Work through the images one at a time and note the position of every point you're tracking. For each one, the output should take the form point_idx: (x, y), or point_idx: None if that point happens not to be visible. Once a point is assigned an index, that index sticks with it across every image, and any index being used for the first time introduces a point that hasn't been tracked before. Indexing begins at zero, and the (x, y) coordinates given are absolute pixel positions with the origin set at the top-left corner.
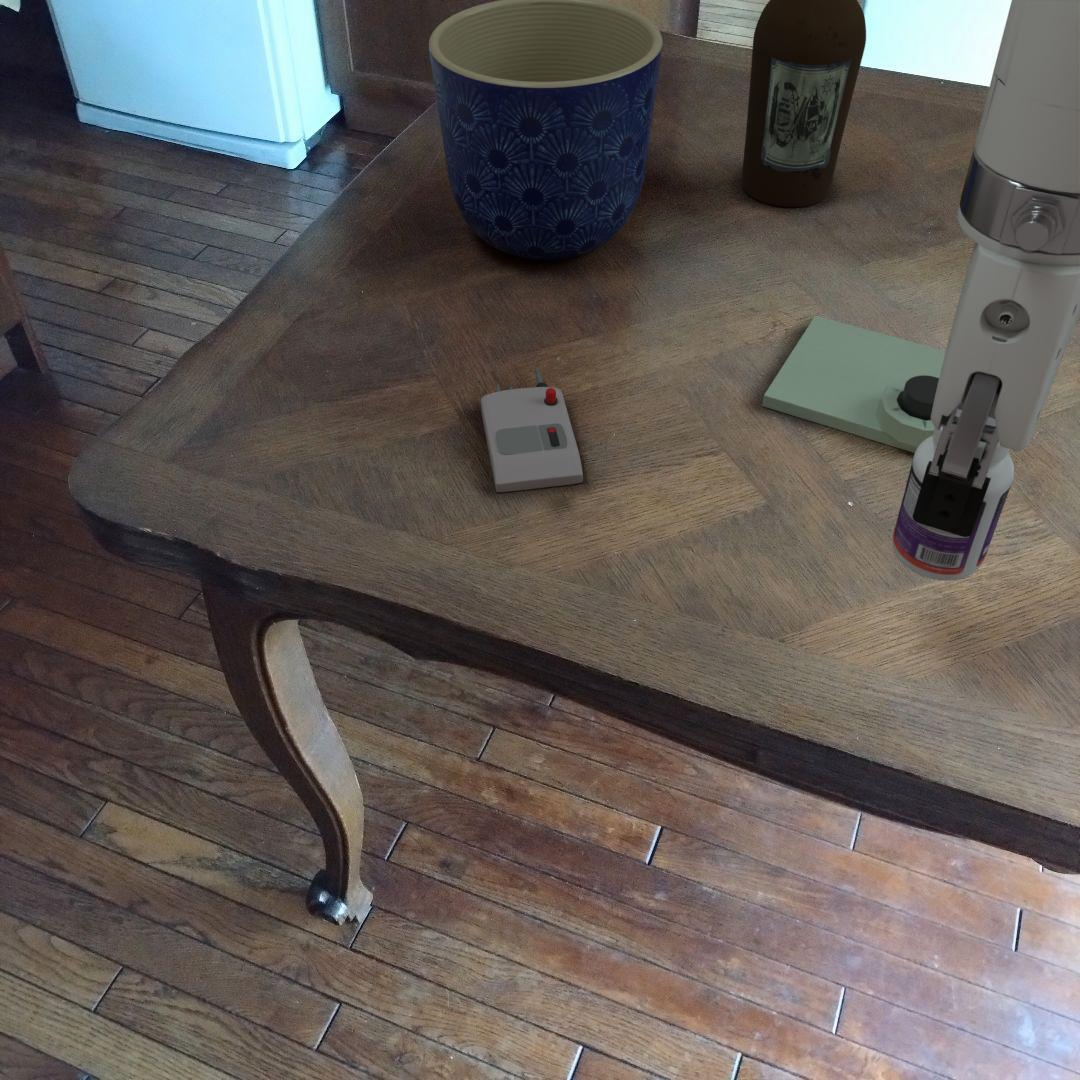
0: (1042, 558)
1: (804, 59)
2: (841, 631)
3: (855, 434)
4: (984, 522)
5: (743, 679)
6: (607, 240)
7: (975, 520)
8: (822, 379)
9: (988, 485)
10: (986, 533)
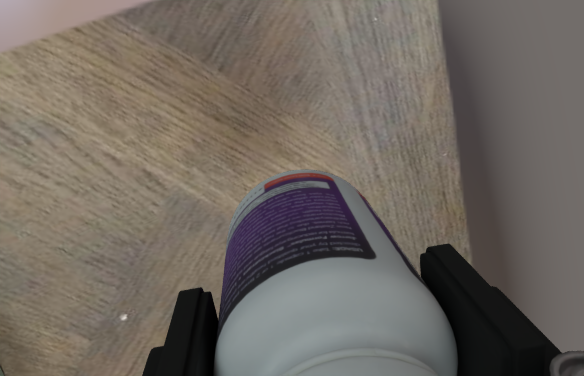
0: (30, 88)
1: None
2: None
3: (1, 370)
4: (380, 234)
5: None
6: None
7: (471, 266)
8: None
9: (523, 335)
10: (353, 210)
